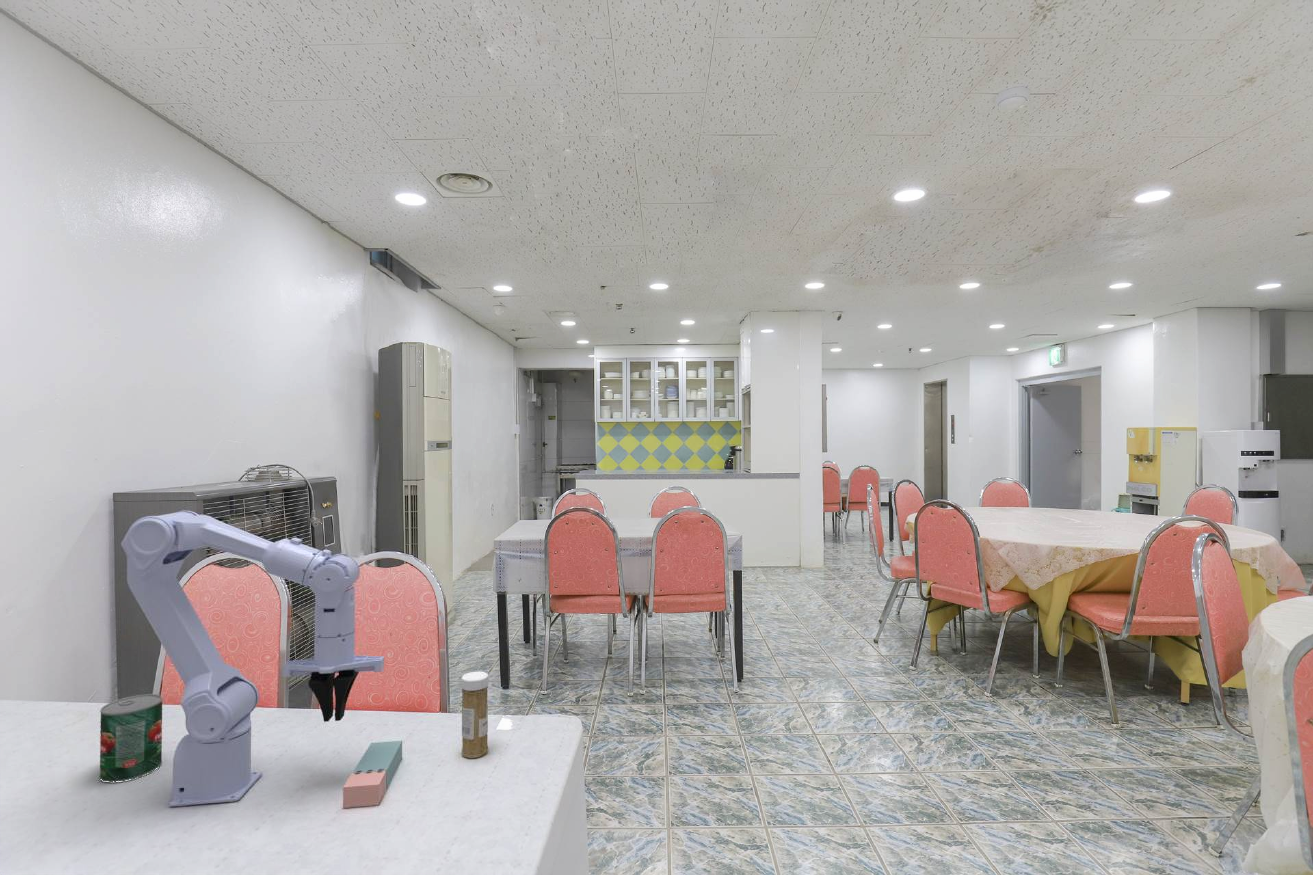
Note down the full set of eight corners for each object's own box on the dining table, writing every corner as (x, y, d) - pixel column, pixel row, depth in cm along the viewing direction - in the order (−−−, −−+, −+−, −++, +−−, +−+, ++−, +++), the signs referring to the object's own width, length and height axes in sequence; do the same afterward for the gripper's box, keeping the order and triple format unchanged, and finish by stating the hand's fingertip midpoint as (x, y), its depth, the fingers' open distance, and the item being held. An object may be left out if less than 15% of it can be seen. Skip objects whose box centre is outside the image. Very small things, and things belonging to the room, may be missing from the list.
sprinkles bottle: (491, 754, 108) (492, 676, 108) (465, 761, 105) (465, 681, 106) (483, 744, 112) (483, 668, 112) (457, 750, 109) (458, 673, 109)
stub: (342, 807, 92) (343, 786, 92) (351, 793, 96) (351, 772, 96) (378, 804, 92) (379, 783, 93) (386, 790, 96) (386, 769, 96)
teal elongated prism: (352, 792, 96) (352, 772, 96) (371, 760, 106) (371, 742, 106) (386, 789, 97) (386, 769, 97) (402, 758, 107) (402, 739, 107)
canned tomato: (172, 764, 104) (173, 698, 105) (115, 787, 97) (116, 716, 98) (145, 755, 108) (146, 690, 108) (88, 776, 101) (89, 708, 101)
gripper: (274, 642, 95) (273, 733, 94) (375, 637, 97) (375, 726, 97) (293, 629, 101) (292, 713, 101) (387, 625, 104) (387, 707, 104)
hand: (334, 718), depth 99 cm, fingers closed
